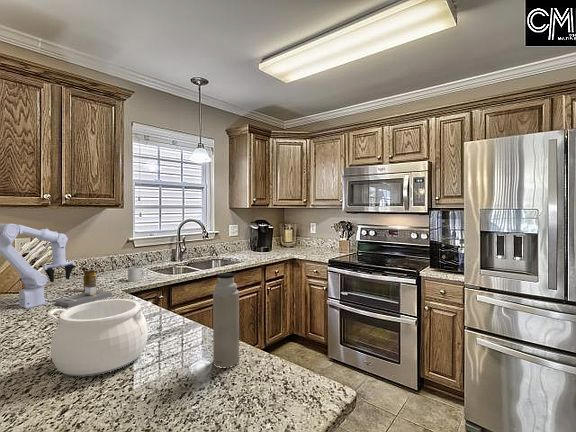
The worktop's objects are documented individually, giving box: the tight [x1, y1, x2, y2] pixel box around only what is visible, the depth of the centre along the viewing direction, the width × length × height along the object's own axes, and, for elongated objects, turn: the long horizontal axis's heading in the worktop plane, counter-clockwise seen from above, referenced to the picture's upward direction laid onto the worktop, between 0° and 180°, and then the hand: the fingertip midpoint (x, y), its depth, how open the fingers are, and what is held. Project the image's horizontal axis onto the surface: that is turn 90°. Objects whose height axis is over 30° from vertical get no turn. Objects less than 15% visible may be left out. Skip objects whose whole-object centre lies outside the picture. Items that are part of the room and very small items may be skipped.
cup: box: [127, 266, 145, 283], centre depth 211 cm, size 7×10×9 cm
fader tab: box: [83, 284, 97, 295], centre depth 169 cm, size 3×5×5 cm, turn 62°
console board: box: [54, 289, 113, 308], centre depth 167 cm, size 22×12×2 cm, turn 152°
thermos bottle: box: [212, 272, 240, 367], centre depth 99 cm, size 8×8×28 cm
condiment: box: [81, 269, 98, 294], centre depth 184 cm, size 7×8×12 cm
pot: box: [46, 298, 152, 378], centre depth 101 cm, size 29×26×17 cm
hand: (59, 280), depth 171 cm, fingers open, 7 cm apart
